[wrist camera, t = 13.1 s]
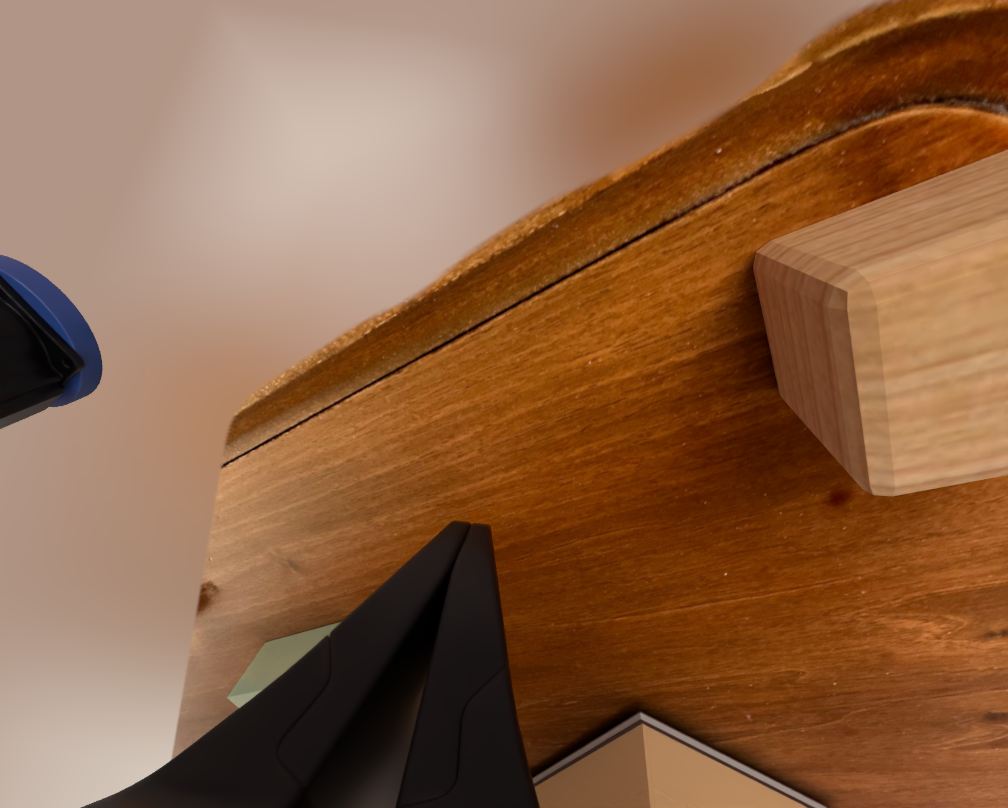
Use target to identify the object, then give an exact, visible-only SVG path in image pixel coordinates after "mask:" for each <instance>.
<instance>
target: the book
mask: <svg viewBox="0 0 1008 808" xmlns="http://www.w3.org/2000/svg"><path fill="white" fill-rule="evenodd" d="M532 779H533V783H534V787H535V790H536V794H537V798H538V802H539V805H540V808H829V807H827V806H825V805H823V804H821V803H819V802H817V801H816V800H814V799H812V798H810V797H808V796H806V795H804V794H802V793H800V792H798V791H796V790H794V789H792V788H790V787H788V786H786V785H784V784H782V783H780V782H778V781H776V780H774V779H772V778H770V777H769V776H767V775H765V774H763V773H761V772H759V771H757V770H755V769H753V768H751V767H749V766H747V765H745V764H743V763H741V762H739V761H737V760H735V759H733V758H731V757H729V756H727V755H725V754H724V753H722V752H720V751H718V750H716V749H714V748H712V747H710V746H708V745H706V744H704V743H702V742H700V741H698V740H696V739H694V738H692V737H690V736H688V735H686V734H684V733H682V732H680V731H678V730H677V729H675V728H673V727H671V726H669V725H667V724H665V723H663V722H661V721H659V720H657V719H655V718H653V717H651V716H649V715H647V714H645V713H643V712H641V711H639V712H638V713H636V714H634V715H633V716H631V717H630V718H628V719H626V720H625V721H623V722H621V723H620V724H618V725H617V726H615V727H613V728H612V729H610V730H609V731H607V732H605V733H604V734H602V735H600V736H599V737H597V738H596V739H594V740H592V741H591V742H589V743H588V744H586V745H584V746H583V747H581V748H579V749H578V750H576V751H575V752H573V753H571V754H570V755H568V756H567V757H565V758H563V759H562V760H560V761H558V762H557V763H555V764H554V765H552V766H550V767H549V768H547V769H545V770H544V771H542V772H541V773H539V774H537V775H536V776H534V777H533V778H532Z"/></svg>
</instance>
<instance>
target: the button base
mask: <svg viewBox="0 0 1008 808" xmlns="http://www.w3.org/2000/svg"><path fill="white" fill-rule="evenodd" d="M340 623H341V622H338V623H334V624H331V625H327V626H323V627H320V628H316V629H312V630H308V631H305V632H301V633H297V634H294V635H290V636H286V637H283V638H279V639H275V640H272V641H268V642H265V644H264V645H263V647H262V648H261V649H260V651H259V652H258V654H257V655H256V657H255V658H254V659H253V661H252V662H251V664H250V665H249V667H248V668H247V670H246V671H245V672H244V674H243V675H242V677H241V678H240V680H239V681H238V682H237V684H236V685H235V687H234V688H233V690H232V691H231V692H230V694H229V695H228V697H227V699H228V700H230V701H231V702H232V703H233V704H235V705H236V706H237V707H238V708H240V707H241V706H243V705H244V704H245V703H247V702H248V701H249V700H251V699H252V698H253V697H254V696H256V695H257V694H258V693H259V692H261V691H262V690H263V689H264V688H266V687H267V686H268V685H269V684H271V683H272V682H273V681H274V680H276V679H277V678H278V677H279V676H281V675H282V674H283V673H284V672H285V671H287V670H288V669H289V668H290V667H291V666H292V665H294V664H295V663H296V662H297V661H298V660H299V659H300V658H302V657H303V656H304V655H305V654H306V653H307V652H308V651H310V650H311V649H312V648H313V647H314V646H315V645H316V644H317V643H318V642H320V641H321V640H322V639H323V638H324V637H325V636H326V635H329V636H330V632H331V631H332V630H333V629H334V628H335V627H336V626H337V625H338V624H340Z"/></svg>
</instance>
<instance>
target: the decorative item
mask: <svg viewBox="0 0 1008 808" xmlns="http://www.w3.org/2000/svg"><path fill="white" fill-rule="evenodd" d="M753 270H754V275H755V280H756V284H757V289H758V294H759V299H760V303H761V308H762V313H763V318H764V323H765V327H766V332H767V337H768V342H769V347H770V351H771V356H772V361H773V366H774V370H775V375H776V380H777V385H778V390H779V394H780V396H781V398H782V399H783V400H784V401H785V402H786V403H787V404H788V406H789V407H790V408H791V409H792V410H793V411H794V412H795V413H796V415H797V416H798V417H799V418H800V419H801V420H802V421H803V423H804V424H805V425H806V426H807V427H808V428H809V429H810V430H811V432H812V433H813V434H814V435H815V436H816V437H817V438H818V440H819V441H820V442H821V443H822V444H823V445H824V446H825V447H826V449H827V450H828V451H829V452H830V453H831V454H832V455H833V457H834V458H835V459H836V460H837V461H838V462H839V463H840V464H841V466H842V467H843V468H844V469H845V470H846V471H847V472H848V474H849V475H850V476H851V477H852V478H853V479H854V480H855V481H856V483H857V484H858V485H859V486H860V487H861V488H862V489H863V490H865V491H867V492H869V493H871V494H873V495H881V496H896V495H902V494H907V493H913V492H918V491H923V490H929V489H934V488H940V487H945V486H950V485H956V484H961V483H967V482H972V481H977V480H983V479H988V478H993V477H999V476H1004V475H1008V150H1005V151H1003V152H1000V153H998V154H995V155H992V156H990V157H987V158H984V159H982V160H979V161H977V162H974V163H971V164H969V165H966V166H964V167H961V168H958V169H956V170H953V171H951V172H948V173H945V174H943V175H940V176H938V177H935V178H932V179H930V180H927V181H925V182H922V183H919V184H917V185H914V186H912V187H909V188H906V189H904V190H901V191H899V192H896V193H893V194H891V195H888V196H886V197H883V198H880V199H878V200H875V201H873V202H870V203H867V204H865V205H862V206H860V207H857V208H854V209H852V210H849V211H847V212H844V213H841V214H839V215H836V216H833V217H831V218H828V219H826V220H823V221H820V222H818V223H815V224H813V225H810V226H807V227H805V228H802V229H800V230H797V231H794V232H792V233H789V234H787V235H784V236H781V237H779V238H776V239H774V240H771V241H769V242H768V243H767V244H766V245H764V246H763V247H762V248H761V249H759V250H758V251H756V254H755V260H754V265H753Z"/></svg>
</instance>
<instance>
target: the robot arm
mask: <svg viewBox="0 0 1008 808" xmlns="http://www.w3.org/2000/svg"><path fill="white" fill-rule="evenodd" d="M84 368H85V362H84V360H83V359H82V357H81V356H80V355H79V354H78V353H77V352H76V351H75V350H74V349H73V348H72V347H71V346H70V345H69V344H68V343H67V342H66V341H65V340H64V339H63V338H62V337H61V336H60V335H59V334H58V333H57V332H56V331H55V330H54V329H53V328H52V327H51V326H50V325H49V324H48V323H47V322H46V321H45V320H44V319H43V318H42V317H41V316H40V315H39V314H38V313H37V312H36V311H35V310H34V309H33V308H32V307H31V306H30V305H29V304H28V303H27V302H26V301H25V299H24V298H23V297H22V296H21V295H20V294H19V293H18V292H17V291H16V290H15V289H14V288H13V287H12V286H11V285H10V284H9V283H8V282H7V281H6V280H5V279H4V278H3V277H2V276H1V275H0V429H1V428H3V427H6V426H8V425H11V424H13V423H15V422H18V421H20V420H22V419H25V418H27V417H29V416H31V415H34V414H36V413H39V412H41V411H43V410H45V409H47V408H48V407H49V406H50V405H51V404H52V403H54V402H55V401H56V400H57V399H58V398H60V397H61V396H62V395H63V394H64V393H65V389H66V388H65V387H64V385H65V384H66V383H68V382H69V381H70V380H71V379H72V378H73V377H75V376H76V375H77V374H78V373H79V372H80V371H82V370H83V369H84ZM82 808H540V805H539V802H538V798H537V794H536V790H535V787H534V783H533V779H532V775H531V772H530V768H529V764H528V760H527V757H526V752H525V748H524V744H523V740H522V735H521V731H520V727H519V723H518V718H517V712H516V706H515V700H514V694H513V688H512V681H511V673H510V668H509V660H508V653H507V645H506V638H505V630H504V623H503V615H502V608H501V600H500V593H499V586H498V578H497V571H496V563H495V556H494V548H493V541H492V533H491V527H490V525H488V524H480V523H473V524H472V525H471V523H469V522H463V521H452V522H451V523H450V524H449V525H447V526H446V527H445V528H444V529H443V530H442V531H441V532H440V533H439V534H438V535H436V536H435V537H434V538H433V539H432V540H431V541H430V542H429V543H428V544H427V545H425V546H424V547H423V548H422V549H421V550H420V551H419V552H418V553H417V554H416V555H414V556H413V557H412V558H411V559H410V560H409V561H408V562H407V563H406V564H405V565H403V566H402V567H401V568H400V569H399V570H398V571H397V572H396V573H395V574H394V575H392V576H391V577H390V578H389V579H388V580H387V581H386V582H385V583H384V584H383V585H381V586H380V587H379V588H378V589H377V590H376V591H375V592H374V593H373V594H371V595H370V596H369V597H368V598H367V599H366V600H365V601H364V602H363V603H362V604H360V605H359V606H358V607H357V608H356V609H355V610H354V611H353V612H352V613H351V614H349V615H348V616H347V617H346V618H345V619H344V620H343V621H342V622H341V623H340V624H338V625H337V626H336V627H335V628H334V629H333V630H332V631H331V632H330V636H329V635H326V636H325V637H324V638H323V639H322V640H321V641H320V642H318V643H317V644H316V645H315V646H314V647H313V648H312V649H311V650H310V651H308V652H307V653H306V654H305V655H304V656H303V657H302V658H300V659H299V660H298V661H297V662H296V663H295V664H294V665H292V666H291V667H290V668H289V669H288V670H287V671H285V672H284V673H283V674H282V675H281V676H279V677H278V678H277V679H276V680H274V681H273V682H272V683H271V684H269V685H268V686H267V687H266V688H264V689H263V690H262V691H261V692H259V693H258V694H257V695H256V696H254V697H253V698H252V699H251V700H249V701H248V702H247V703H245V704H244V705H243V706H241V707H240V708H239V709H238V710H236V711H235V712H234V713H232V714H231V715H230V716H228V717H227V718H226V719H225V720H223V721H222V722H221V723H219V724H218V725H217V726H215V727H214V728H213V729H212V730H210V731H209V732H208V733H206V734H205V735H204V736H202V737H201V738H200V739H199V740H197V741H196V742H195V743H193V744H192V745H191V746H190V747H188V748H187V749H186V750H184V751H183V752H182V753H180V754H179V755H178V756H176V757H175V758H174V759H172V760H171V761H170V762H168V763H167V764H166V765H164V766H163V767H161V768H160V769H159V770H157V771H155V772H154V773H152V774H151V775H149V776H148V777H146V778H144V779H142V780H141V781H139V782H137V783H135V784H134V785H132V786H130V787H128V788H126V789H124V790H122V791H120V792H118V793H116V794H114V795H111V796H109V797H107V798H104V799H102V800H99V801H96V802H94V803H91V804H89V805H86V806H84V807H82Z"/></svg>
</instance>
